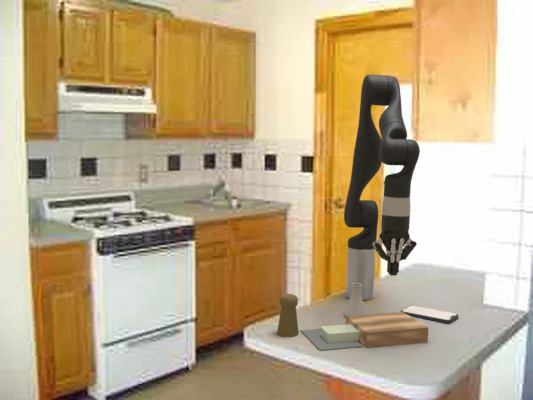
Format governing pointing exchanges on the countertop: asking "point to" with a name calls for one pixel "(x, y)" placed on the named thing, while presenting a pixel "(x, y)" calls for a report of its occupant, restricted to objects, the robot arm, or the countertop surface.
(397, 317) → the board
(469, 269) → the countertop surface
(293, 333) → the pepper mill
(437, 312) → the phone case
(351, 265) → the robot arm
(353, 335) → the block
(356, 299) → the flask
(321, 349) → the mat
